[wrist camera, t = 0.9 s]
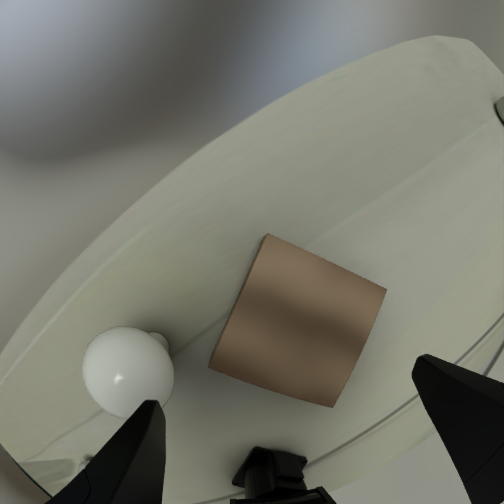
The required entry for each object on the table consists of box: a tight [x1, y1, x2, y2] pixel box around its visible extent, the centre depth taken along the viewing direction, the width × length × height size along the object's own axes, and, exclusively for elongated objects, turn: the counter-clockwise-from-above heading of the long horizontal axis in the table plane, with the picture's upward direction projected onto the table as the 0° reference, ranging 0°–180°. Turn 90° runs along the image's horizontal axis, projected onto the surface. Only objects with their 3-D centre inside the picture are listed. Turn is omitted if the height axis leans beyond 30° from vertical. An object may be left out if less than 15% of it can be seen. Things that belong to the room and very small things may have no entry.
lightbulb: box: [82, 327, 175, 419], centre depth 18 cm, size 6×6×11 cm
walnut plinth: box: [208, 233, 387, 408], centre depth 23 cm, size 12×12×2 cm
